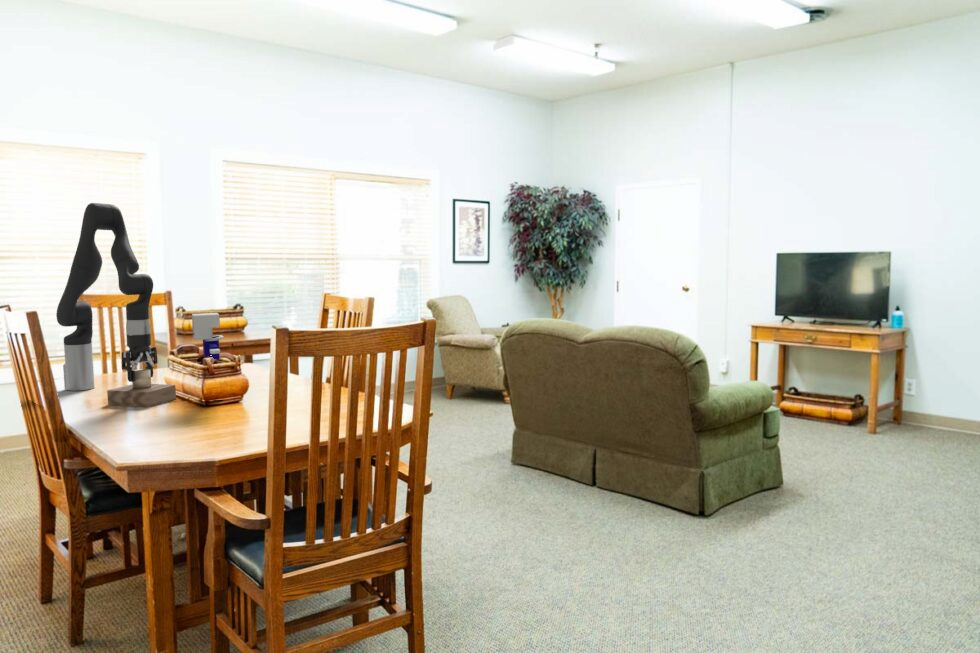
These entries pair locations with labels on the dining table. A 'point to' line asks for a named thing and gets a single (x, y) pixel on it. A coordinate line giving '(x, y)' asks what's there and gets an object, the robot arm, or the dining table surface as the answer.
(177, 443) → the dining table surface
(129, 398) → the grey wooden block
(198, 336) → the toy
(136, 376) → the peg
